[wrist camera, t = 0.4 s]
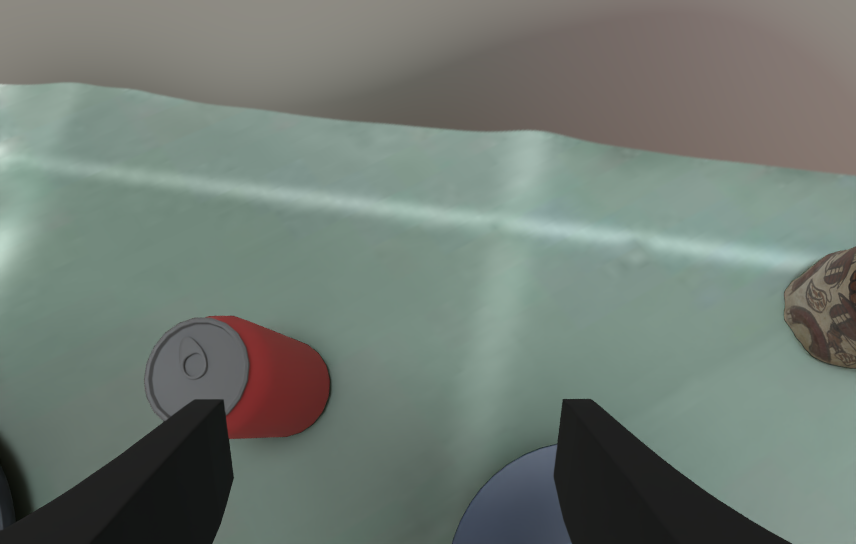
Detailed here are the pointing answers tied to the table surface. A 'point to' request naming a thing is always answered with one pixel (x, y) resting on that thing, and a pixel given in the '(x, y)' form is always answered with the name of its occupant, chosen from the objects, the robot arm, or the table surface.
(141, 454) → the robot arm
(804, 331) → the figurine
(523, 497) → the tin lid
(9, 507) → the electronic game
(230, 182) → the table surface
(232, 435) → the beer can
